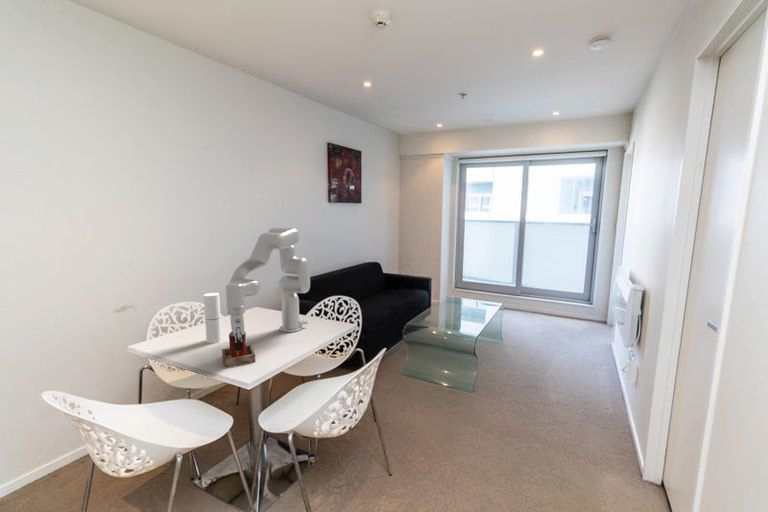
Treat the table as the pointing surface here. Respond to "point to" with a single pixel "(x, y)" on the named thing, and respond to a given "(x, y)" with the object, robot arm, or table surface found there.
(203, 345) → the table surface
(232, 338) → the soda can
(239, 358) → the tray
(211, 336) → the cylindrical container
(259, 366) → the table surface
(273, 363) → the table surface
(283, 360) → the table surface
